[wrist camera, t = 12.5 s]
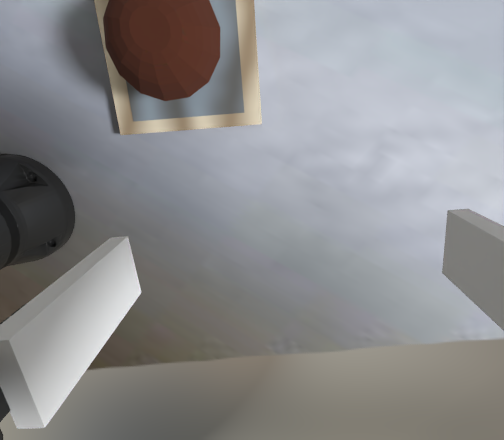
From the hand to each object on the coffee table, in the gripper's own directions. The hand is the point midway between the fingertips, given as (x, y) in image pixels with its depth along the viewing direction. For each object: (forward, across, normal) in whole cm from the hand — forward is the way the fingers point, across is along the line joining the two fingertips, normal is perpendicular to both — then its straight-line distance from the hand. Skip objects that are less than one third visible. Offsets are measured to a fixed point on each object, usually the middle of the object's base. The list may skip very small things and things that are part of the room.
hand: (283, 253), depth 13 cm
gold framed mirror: (+31, +10, -14) cm, 35 cm away
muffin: (+29, +10, -14) cm, 34 cm away
